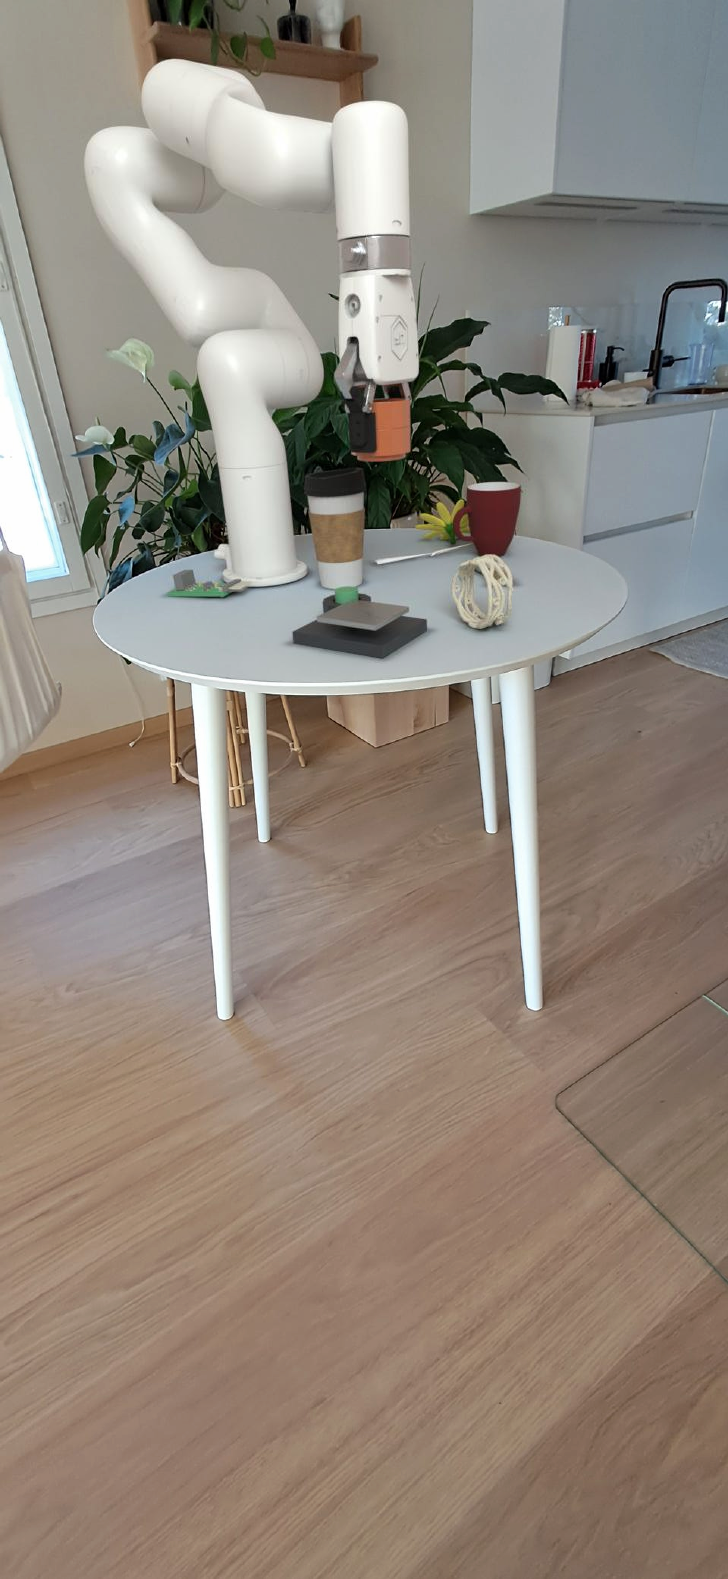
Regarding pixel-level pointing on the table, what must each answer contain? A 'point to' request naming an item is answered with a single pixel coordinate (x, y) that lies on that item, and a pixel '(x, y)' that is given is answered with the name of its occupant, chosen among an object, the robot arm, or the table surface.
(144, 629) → the table surface
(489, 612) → the bracelet
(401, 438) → the orange cup
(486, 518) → the mug
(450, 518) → the flower
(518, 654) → the table surface
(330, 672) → the table surface
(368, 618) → the weighing plate
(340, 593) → the tare button
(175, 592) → the circuit board
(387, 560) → the silver knife
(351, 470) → the coffee cup
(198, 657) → the table surface
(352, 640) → the scale
